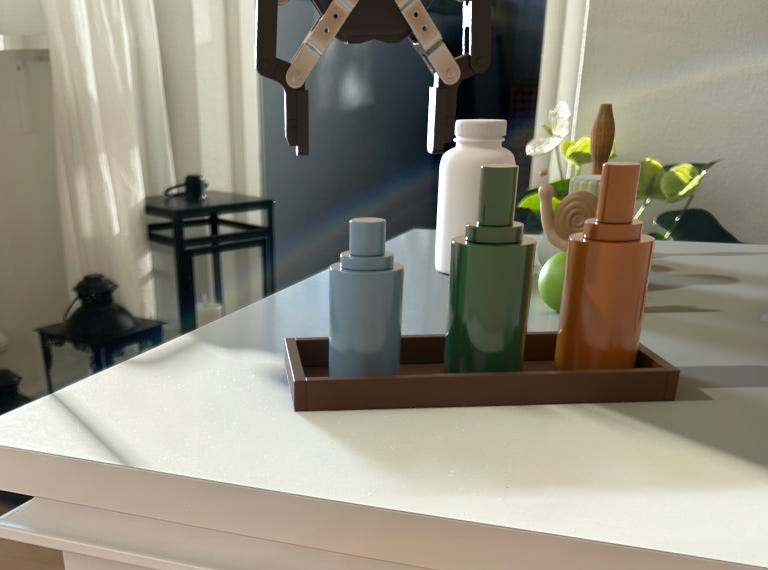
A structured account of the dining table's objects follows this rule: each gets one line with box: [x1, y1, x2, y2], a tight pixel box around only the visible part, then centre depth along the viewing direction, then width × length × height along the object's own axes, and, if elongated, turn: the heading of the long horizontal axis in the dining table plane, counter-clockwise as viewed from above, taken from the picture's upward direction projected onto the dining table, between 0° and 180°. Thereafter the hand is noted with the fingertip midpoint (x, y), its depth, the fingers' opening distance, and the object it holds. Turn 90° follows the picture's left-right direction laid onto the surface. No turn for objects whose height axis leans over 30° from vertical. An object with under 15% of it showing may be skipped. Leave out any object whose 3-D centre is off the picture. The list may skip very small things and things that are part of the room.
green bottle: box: [443, 164, 537, 374], centre depth 69 cm, size 6×6×14 cm
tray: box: [283, 330, 681, 413], centre depth 73 cm, size 26×12×3 cm, turn 93°
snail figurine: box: [537, 168, 598, 313], centre depth 93 cm, size 5×6×12 cm
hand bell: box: [589, 103, 616, 175], centre depth 117 cm, size 8×8×16 cm
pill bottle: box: [434, 118, 516, 275], centre depth 110 cm, size 8×8×15 cm
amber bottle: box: [553, 161, 656, 371], centre depth 70 cm, size 6×6×14 cm
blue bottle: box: [328, 216, 405, 377], centre depth 70 cm, size 5×5×11 cm
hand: (369, 154), depth 65 cm, fingers open, 8 cm apart
